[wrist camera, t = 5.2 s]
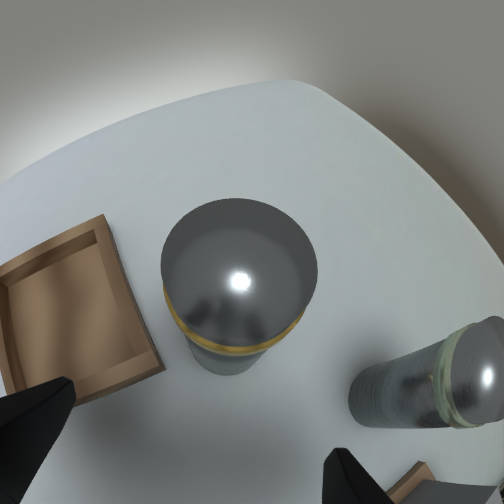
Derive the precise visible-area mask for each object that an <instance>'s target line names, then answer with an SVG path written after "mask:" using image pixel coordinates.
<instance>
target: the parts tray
mask: <svg viewBox="0 0 504 504" xmlns="http://www.w3.org/2000/svg"><path fill="white" fill-rule="evenodd" d="M0 370H1V374H2V378H3V382H4V386H5V390H6V393H7V395H10V394H13V393H16V392H19V391H22V390H24V389H27V388H30V387H33V386H36V385H39V384H41V383H44V382H47V381H50V380H52V379H55V378H58V377H60V376H65V377H67V378H69V379H71V380H72V381H73V382H74V386H75V391H76V396H77V398H76V402H75V404H74V406H73V407H75V406H78V405H81V404H84V403H86V402H89V401H92V400H94V399H97V398H100V397H102V396H105V395H107V394H110V393H112V392H115V391H117V390H120V389H122V388H125V387H127V386H129V385H132V384H134V383H137V382H139V381H141V380H144V379H146V378H148V377H150V376H153V375H155V374H157V373H160V372H162V371H164V370H166V368H165V366H164V364H163V362H162V360H161V358H160V356H159V354H158V352H157V350H156V347H155V345H154V343H153V341H152V339H151V336H150V334H149V332H148V330H147V327H146V325H145V323H144V320H143V318H142V316H141V313H140V311H139V308H138V306H137V303H136V301H135V298H134V296H133V293H132V291H131V288H130V285H129V283H128V280H127V277H126V274H125V271H124V269H123V266H122V263H121V260H120V257H119V254H118V251H117V248H116V245H115V241H114V238H113V235H112V232H111V229H110V227H109V225H108V223H107V221H106V219H105V216H104V214H102V215H99V216H97V217H95V218H93V219H90V220H88V221H86V222H84V223H82V224H80V225H77V226H75V227H73V228H71V229H69V230H67V231H65V232H63V233H61V234H59V235H57V236H55V237H53V238H51V239H49V240H47V241H45V242H43V243H41V244H39V245H37V246H35V247H33V248H31V249H30V250H28V251H26V252H24V253H22V254H20V255H19V256H17V257H15V258H13V259H12V260H10V261H8V262H6V263H5V264H3V265H1V266H0Z"/></svg>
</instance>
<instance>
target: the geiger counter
mask: <svg viewBox="0 0 504 504" xmlns="http://www.w3.org/2000/svg"><path fill="white" fill-rule="evenodd" d="M499 492H500V495H501V498H502V502H503V504H504V483H503V484H502V485H501V486H500V487H499Z"/></svg>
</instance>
